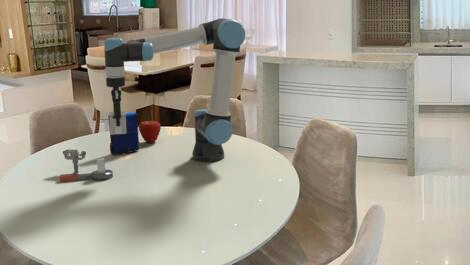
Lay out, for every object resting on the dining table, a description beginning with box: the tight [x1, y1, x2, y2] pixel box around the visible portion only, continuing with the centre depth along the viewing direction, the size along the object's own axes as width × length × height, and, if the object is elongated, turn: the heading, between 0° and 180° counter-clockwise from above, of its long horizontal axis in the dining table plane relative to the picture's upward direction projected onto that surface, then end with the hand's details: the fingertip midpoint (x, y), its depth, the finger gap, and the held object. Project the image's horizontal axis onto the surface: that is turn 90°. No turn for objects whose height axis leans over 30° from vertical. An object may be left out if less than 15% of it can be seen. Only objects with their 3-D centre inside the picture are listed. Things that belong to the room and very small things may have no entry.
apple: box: [138, 120, 162, 144], centre depth 292 cm, size 11×11×12 cm
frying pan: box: [59, 157, 114, 183], centre depth 237 cm, size 22×9×8 cm, turn 103°
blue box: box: [108, 111, 140, 156], centre depth 273 cm, size 14×5×20 cm, turn 122°
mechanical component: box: [62, 149, 87, 174], centre depth 245 cm, size 3×10×10 cm, turn 79°
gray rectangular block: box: [108, 111, 126, 135], centre depth 234 cm, size 6×6×8 cm
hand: (118, 131), depth 235 cm, fingers closed on gray rectangular block, 6 cm apart
